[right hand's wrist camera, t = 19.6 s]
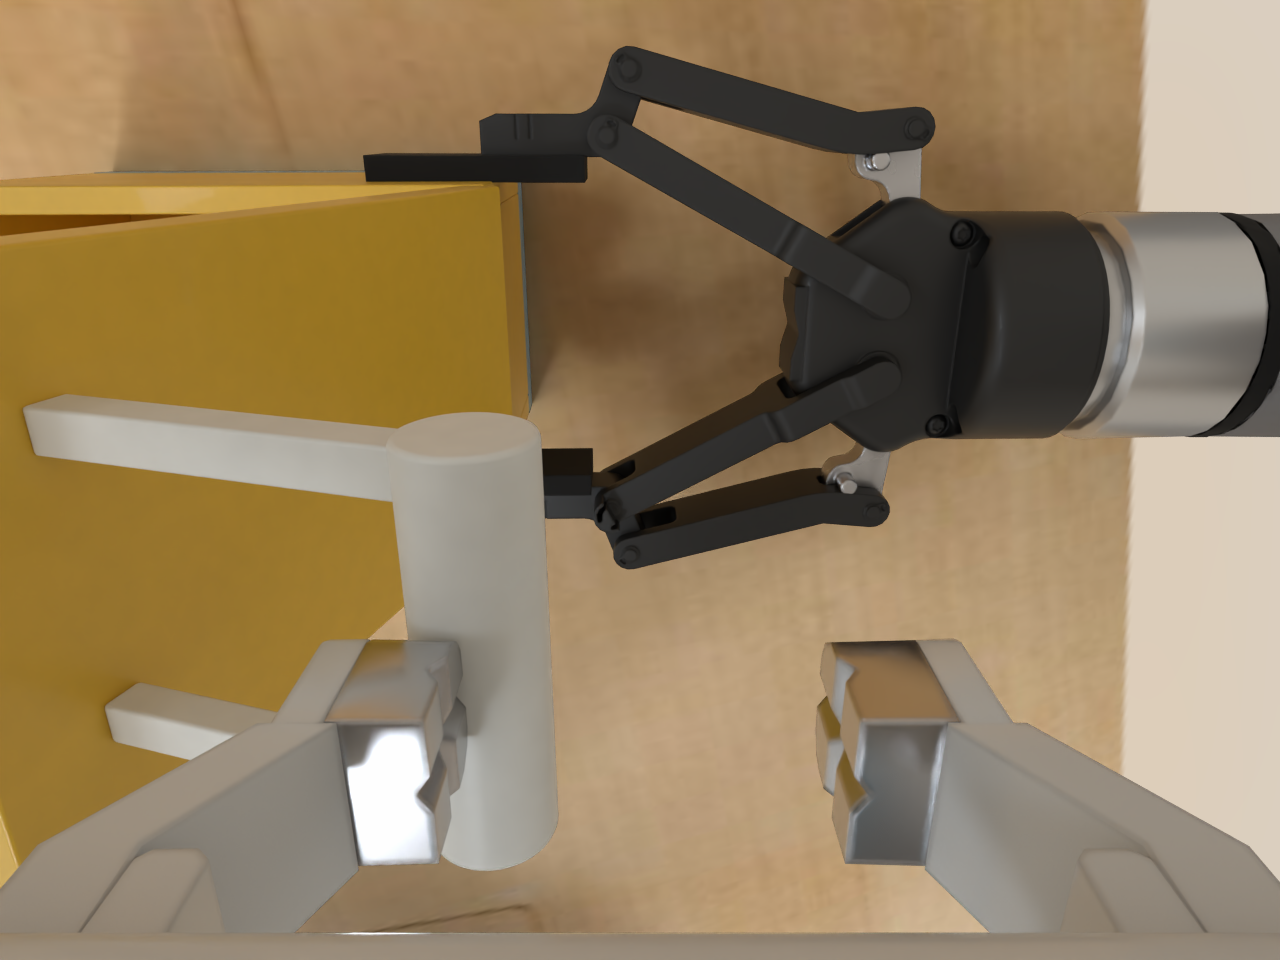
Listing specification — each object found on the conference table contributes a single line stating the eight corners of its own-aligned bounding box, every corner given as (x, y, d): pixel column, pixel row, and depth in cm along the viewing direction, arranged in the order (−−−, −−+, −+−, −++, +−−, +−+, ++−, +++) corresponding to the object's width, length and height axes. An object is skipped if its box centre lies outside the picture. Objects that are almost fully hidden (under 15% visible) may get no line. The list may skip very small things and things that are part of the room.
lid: (-18, 913, 13) (493, 1082, 11) (-260, 263, 9) (419, 303, 7) (485, 501, 27) (747, 534, 25) (462, 185, 24) (763, 189, 22)
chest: (161, 407, 37) (5, 502, 27) (111, 171, 34) (-87, 186, 24) (532, 404, 37) (504, 496, 28) (520, 170, 34) (484, 184, 24)
